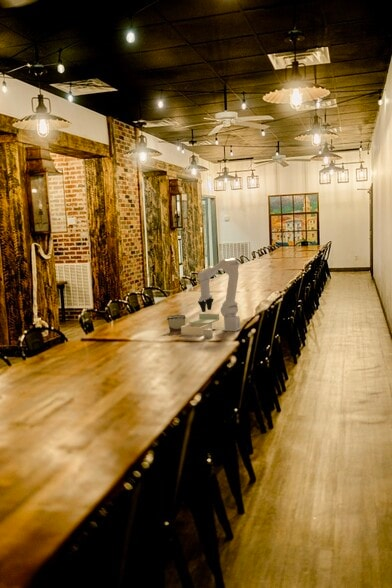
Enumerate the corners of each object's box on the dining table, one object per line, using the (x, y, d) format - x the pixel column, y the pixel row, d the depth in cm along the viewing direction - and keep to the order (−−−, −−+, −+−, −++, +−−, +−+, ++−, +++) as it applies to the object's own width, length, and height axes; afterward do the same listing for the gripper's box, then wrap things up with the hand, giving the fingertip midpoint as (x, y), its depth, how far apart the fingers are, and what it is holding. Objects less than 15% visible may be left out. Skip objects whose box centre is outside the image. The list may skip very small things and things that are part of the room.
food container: (188, 329, 352) (187, 314, 351) (187, 331, 346) (186, 316, 345) (169, 330, 354) (167, 315, 352) (167, 332, 348) (166, 317, 346)
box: (212, 330, 343) (211, 322, 343) (201, 335, 331) (200, 327, 331) (192, 330, 350) (192, 322, 350) (181, 334, 338) (180, 326, 338)
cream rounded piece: (214, 337, 325) (213, 328, 325) (210, 338, 321) (209, 330, 320) (206, 336, 328) (206, 328, 327) (202, 338, 324) (201, 330, 323)
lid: (219, 319, 351) (218, 313, 351) (208, 324, 339) (208, 318, 339) (200, 319, 358) (199, 313, 358) (189, 323, 346) (188, 317, 346)
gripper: (204, 288, 364) (206, 308, 366) (194, 291, 351) (195, 312, 353) (214, 288, 360) (215, 309, 362) (203, 291, 348) (205, 312, 350)
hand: (206, 310), depth 357 cm, fingers open, 7 cm apart
